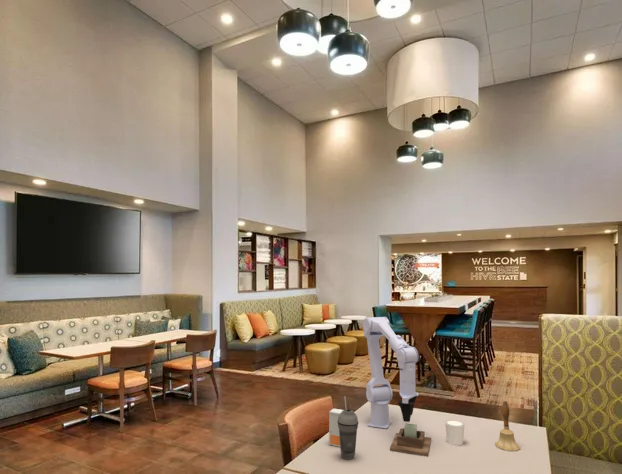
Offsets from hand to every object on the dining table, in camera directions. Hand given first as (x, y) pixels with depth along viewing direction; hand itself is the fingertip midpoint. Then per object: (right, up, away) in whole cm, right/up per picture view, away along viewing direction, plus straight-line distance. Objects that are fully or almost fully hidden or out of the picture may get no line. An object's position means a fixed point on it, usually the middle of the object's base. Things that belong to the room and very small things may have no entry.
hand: (407, 418), depth 155 cm
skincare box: (-26, -9, -2) cm, 27 cm away
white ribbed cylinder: (+18, -10, +1) cm, 20 cm away
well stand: (+1, -9, -2) cm, 9 cm away
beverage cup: (-23, -8, -12) cm, 28 cm away
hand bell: (+36, -10, -2) cm, 37 cm away
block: (+1, -8, -2) cm, 8 cm away
